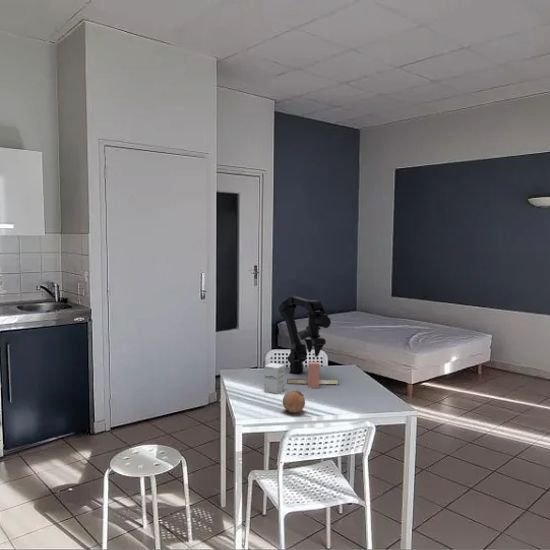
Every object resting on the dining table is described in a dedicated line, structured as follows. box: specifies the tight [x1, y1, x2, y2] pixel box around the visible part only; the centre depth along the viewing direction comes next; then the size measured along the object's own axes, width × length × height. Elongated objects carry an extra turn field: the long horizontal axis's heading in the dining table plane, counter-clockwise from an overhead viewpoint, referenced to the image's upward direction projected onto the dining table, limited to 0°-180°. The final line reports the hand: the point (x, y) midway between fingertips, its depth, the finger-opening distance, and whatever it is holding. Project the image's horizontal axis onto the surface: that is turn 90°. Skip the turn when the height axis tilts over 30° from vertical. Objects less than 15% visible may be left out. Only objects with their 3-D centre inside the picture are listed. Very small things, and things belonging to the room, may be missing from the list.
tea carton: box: [307, 361, 321, 389], centre depth 254 cm, size 4×5×12 cm
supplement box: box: [263, 362, 286, 395], centre depth 245 cm, size 7×7×13 cm
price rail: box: [286, 378, 340, 386], centre depth 259 cm, size 3×26×2 cm, turn 90°
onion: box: [282, 390, 306, 414], centre depth 217 cm, size 10×9×10 cm
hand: (312, 354), depth 266 cm, fingers open, 9 cm apart
